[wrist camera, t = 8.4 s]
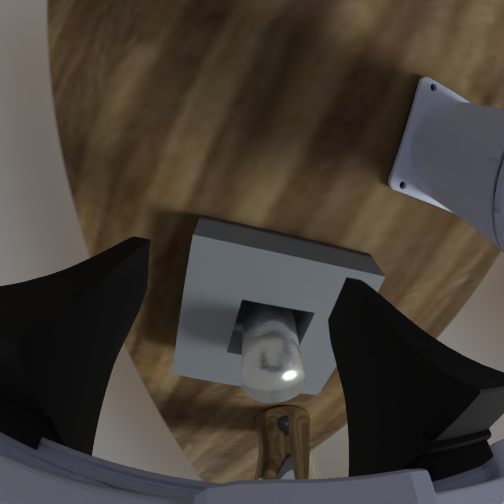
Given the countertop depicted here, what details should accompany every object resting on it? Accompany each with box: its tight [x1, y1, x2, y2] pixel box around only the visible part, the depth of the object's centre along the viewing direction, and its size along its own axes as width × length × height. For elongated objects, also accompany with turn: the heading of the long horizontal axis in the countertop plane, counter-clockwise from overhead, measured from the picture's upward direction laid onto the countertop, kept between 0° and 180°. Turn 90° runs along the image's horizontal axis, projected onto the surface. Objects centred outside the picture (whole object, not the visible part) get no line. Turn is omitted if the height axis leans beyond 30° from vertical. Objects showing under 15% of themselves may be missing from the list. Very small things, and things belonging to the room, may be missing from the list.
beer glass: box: [254, 406, 322, 480], centre depth 24 cm, size 7×7×15 cm
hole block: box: [172, 215, 385, 395], centre depth 22 cm, size 12×12×3 cm
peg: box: [242, 300, 306, 403], centre depth 20 cm, size 4×4×7 cm
